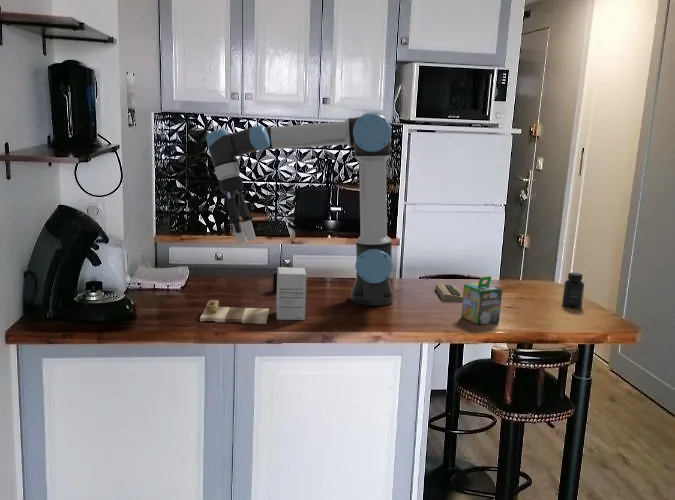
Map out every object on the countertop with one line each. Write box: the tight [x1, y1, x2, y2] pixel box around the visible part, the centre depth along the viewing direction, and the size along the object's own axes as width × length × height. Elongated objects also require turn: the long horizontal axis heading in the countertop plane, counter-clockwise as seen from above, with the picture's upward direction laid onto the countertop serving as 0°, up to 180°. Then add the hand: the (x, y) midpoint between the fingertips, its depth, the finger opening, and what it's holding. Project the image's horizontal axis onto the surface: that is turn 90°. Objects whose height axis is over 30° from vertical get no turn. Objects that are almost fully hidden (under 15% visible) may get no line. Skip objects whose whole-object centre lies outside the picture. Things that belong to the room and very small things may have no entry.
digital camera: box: [272, 272, 277, 294], centre depth 237 cm, size 10×5×7 cm, turn 148°
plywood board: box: [199, 299, 270, 325], centre depth 204 cm, size 20×12×4 cm, turn 92°
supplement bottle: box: [561, 272, 585, 309], centre depth 235 cm, size 7×7×12 cm
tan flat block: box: [434, 283, 463, 302], centre depth 241 cm, size 16×8×3 cm, turn 2°
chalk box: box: [461, 275, 503, 326], centre depth 212 cm, size 9×9×15 cm
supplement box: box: [275, 266, 307, 321], centre depth 206 cm, size 9×9×15 cm
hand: (247, 241), depth 212 cm, fingers open, 13 cm apart
